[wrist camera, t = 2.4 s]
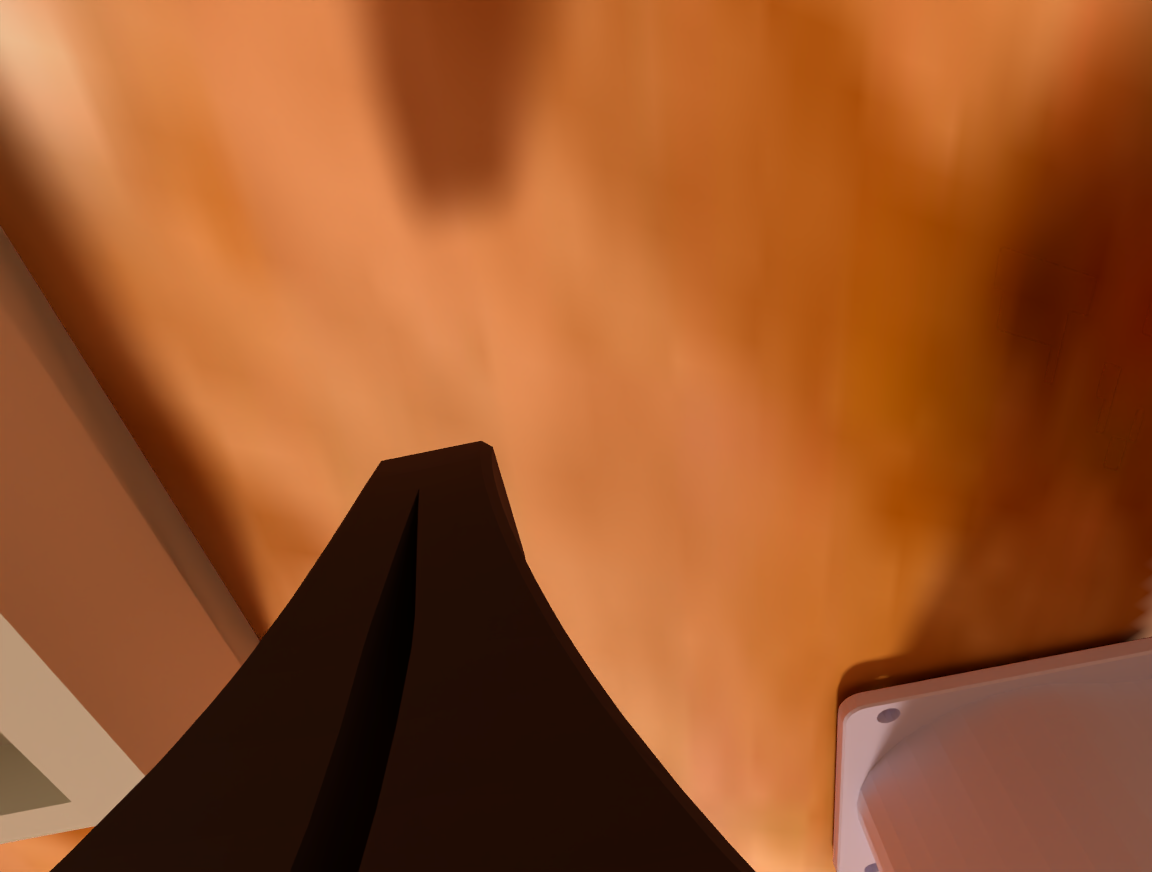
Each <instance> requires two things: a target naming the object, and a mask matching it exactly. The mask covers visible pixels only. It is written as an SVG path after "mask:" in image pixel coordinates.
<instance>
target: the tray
mask: <svg viewBox="0 0 1152 872" xmlns="http://www.w3.org/2000/svg"><path fill="white" fill-rule="evenodd" d="M259 642H260V640H259V639H258V637H257V636H256V634H255V632H254V631H253V629H252V628H251V626H250V624H249V623H248V621H247V620H246V618H245V616H244V615H243V613H242V612H241V610H240V608H239V607H238V605H237V604H236V602H235V600H234V599H233V597H232V596H231V594H230V592H229V591H228V589H227V588H226V586H225V584H224V583H223V581H222V580H221V578H220V576H219V575H218V573H217V572H216V570H215V568H214V567H213V565H212V564H211V562H210V560H209V559H208V557H207V556H206V554H205V552H204V551H203V549H202V548H201V546H200V544H199V543H198V541H197V540H196V538H195V536H194V535H193V533H192V532H191V530H190V528H189V527H188V525H187V524H186V522H185V520H184V519H183V517H182V516H181V514H180V512H179V511H178V509H177V508H176V506H175V504H174V503H173V501H172V500H171V498H170V496H169V495H168V493H167V492H166V490H165V488H164V487H163V485H162V483H161V482H160V480H159V479H158V477H157V475H156V474H155V472H154V471H153V469H152V467H151V466H150V464H149V463H148V461H147V459H146V458H145V456H144V455H143V453H142V451H141V450H140V448H139V447H138V445H137V443H136V442H135V440H134V439H133V437H132V435H131V434H130V432H129V431H128V429H127V427H126V426H125V424H124V423H123V421H122V419H121V418H120V416H119V415H118V413H117V411H116V410H115V408H114V407H113V405H112V403H111V402H110V400H109V399H108V397H107V395H106V394H105V392H104V391H103V389H102V387H101V386H100V384H99V383H98V381H97V379H96V378H95V376H94V375H93V373H92V371H91V370H90V368H89V367H88V365H87V363H86V362H85V360H84V359H83V357H82V355H81V354H80V352H79V351H78V349H77V347H76V346H75V344H74V343H73V341H72V339H71V338H70V336H69V335H68V333H67V331H66V330H65V328H64V327H63V325H62V323H61V322H60V320H59V319H58V317H57V315H56V314H55V312H54V311H53V309H52V307H51V306H50V304H49V302H48V301H47V299H46V298H45V296H44V294H43V293H42V291H41V290H40V288H39V286H38V285H37V283H36V282H35V280H34V278H33V277H32V275H31V274H30V272H29V270H28V269H27V267H26V266H25V264H24V262H23V261H22V259H21V258H20V256H19V254H18V253H17V251H16V250H15V248H14V246H13V245H12V243H11V242H10V240H9V238H8V237H7V235H6V234H5V232H4V230H3V229H2V227H1V226H0V844H3V843H9V842H14V841H19V840H24V839H30V838H35V837H40V836H45V835H51V834H56V833H61V832H66V831H71V830H77V829H82V828H87V827H92V826H96V825H97V824H98V823H99V822H100V821H101V820H102V819H103V818H104V817H105V816H106V815H107V814H108V813H109V812H110V811H111V810H112V809H113V808H114V807H115V806H116V805H117V804H118V803H119V802H120V801H121V800H122V799H123V798H124V797H125V796H126V795H127V794H128V793H129V792H130V791H131V790H132V789H133V788H134V787H135V786H136V785H137V784H138V783H139V782H140V781H141V780H142V779H143V778H144V777H145V776H146V775H147V774H148V773H149V772H150V771H151V770H152V769H153V768H154V767H155V766H156V764H157V763H158V762H159V761H160V760H161V759H162V758H163V757H164V756H165V755H166V754H167V753H168V751H169V750H170V749H171V748H172V747H173V746H174V745H175V744H176V743H177V741H178V740H179V739H180V738H181V737H182V736H183V735H184V733H185V732H186V731H187V730H188V729H189V728H190V727H191V725H192V724H193V723H194V722H195V721H196V720H197V719H198V718H199V716H200V715H201V714H202V713H203V712H204V711H205V710H206V708H207V707H208V706H209V705H210V704H211V703H212V701H213V700H214V699H215V698H216V697H217V695H218V694H219V693H220V692H221V691H222V689H223V688H224V687H225V686H226V685H227V683H228V682H229V681H230V680H231V679H232V677H233V676H234V675H235V674H236V672H237V671H238V670H239V669H240V667H241V666H242V665H243V664H244V662H245V661H246V660H247V658H248V657H249V656H250V654H251V653H252V652H253V650H254V649H255V648H256V646H257V645H258V644H259Z"/></svg>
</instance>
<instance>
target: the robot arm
mask: <svg viewBox="0 0 1152 872" xmlns="http://www.w3.org/2000/svg"><path fill="white" fill-rule="evenodd" d="M833 863H834V866H835V869H836V872H1152V637H1148V638H1143V639H1138V640H1133V641H1127V642H1122V643H1117V644H1112V645H1106V646H1101V647H1096V648H1091V649H1085V650H1080V651H1075V652H1070V653H1064V654H1059V655H1054V656H1049V657H1044V658H1038V659H1033V660H1028V661H1023V662H1017V663H1012V664H1007V665H1002V666H996V667H991V668H986V669H981V670H975V671H970V672H965V673H960V674H954V675H949V676H944V677H939V678H933V679H928V680H923V681H918V682H912V683H907V684H902V685H897V686H891V687H886V688H881V689H876V690H870V691H865V692H860V693H857V694H853V695H851V696H850V697H848V698H846V699H845V700H844V701H843V702H842V703H841V705H840V707H839V710H838V729H837V758H836V787H835V815H834V844H833ZM50 872H755V871H754V870H753V869H752V867H751V866H750V865H749V864H748V863H747V862H746V861H745V860H744V859H743V858H742V857H741V856H740V855H739V853H738V852H737V851H736V850H735V849H734V848H733V847H732V846H731V845H730V844H729V843H728V842H727V840H726V839H725V838H724V837H723V836H722V835H721V834H720V832H719V831H718V830H717V829H716V828H715V827H714V826H713V824H712V823H711V822H710V821H709V820H708V819H707V818H706V816H705V815H704V814H703V813H702V812H701V811H700V810H699V808H698V807H697V806H696V805H695V804H694V803H693V802H692V800H691V799H690V798H689V797H688V796H687V795H686V794H685V792H684V791H683V790H682V789H681V788H680V786H679V785H678V784H677V783H676V781H675V780H674V779H673V778H672V776H671V775H670V774H669V773H668V771H667V770H666V769H665V768H664V766H663V765H662V764H661V763H660V761H659V760H658V759H657V758H656V756H655V755H654V754H653V753H652V751H651V750H650V749H649V748H648V746H647V745H646V744H645V743H644V741H643V740H642V739H641V738H640V736H639V735H638V734H637V733H636V731H635V730H634V729H633V728H632V726H631V725H630V724H629V723H628V721H627V720H626V719H625V718H624V716H623V715H622V714H621V712H620V711H619V709H618V708H617V707H616V705H615V704H614V702H613V701H612V700H611V698H610V697H609V695H608V694H607V693H606V691H605V690H604V688H603V687H602V686H601V684H600V683H599V681H598V680H597V679H596V677H595V676H594V674H593V673H592V672H591V670H590V669H589V667H588V666H587V664H586V663H585V661H584V659H583V658H582V656H581V655H580V653H579V652H578V650H577V649H576V647H575V646H574V644H573V643H572V641H571V640H570V638H569V637H568V635H567V633H566V632H565V630H564V629H563V627H562V625H561V624H560V622H559V620H558V619H557V617H556V615H555V614H554V612H553V610H552V608H551V607H550V605H549V603H548V601H547V600H546V598H545V596H544V594H543V592H542V591H541V589H540V587H539V585H538V583H537V582H536V580H535V578H534V576H533V574H532V572H531V570H530V568H529V566H528V564H527V562H526V560H525V555H524V551H523V548H522V544H521V541H520V538H519V534H518V531H517V527H516V524H515V521H514V517H513V514H512V511H511V507H510V504H509V500H508V497H507V494H506V490H505V487H504V484H503V480H502V477H501V473H500V470H499V467H498V463H497V460H496V457H495V453H494V450H493V447H492V446H490V445H488V444H486V443H484V442H483V441H478V442H473V443H468V444H463V445H458V446H453V447H448V448H443V449H438V450H433V451H428V452H424V453H419V454H414V455H409V456H404V457H399V458H394V459H389V460H384V461H381V463H380V464H379V466H378V467H377V468H376V470H375V471H374V473H373V474H372V476H371V477H370V479H369V480H368V482H367V484H366V485H365V487H364V488H363V490H362V491H361V493H360V495H359V496H358V498H357V499H356V501H355V502H354V504H353V506H352V507H351V509H350V510H349V512H348V514H347V515H346V517H345V518H344V520H343V522H342V523H341V525H340V526H339V528H338V529H337V531H336V533H335V534H334V536H333V537H332V539H331V540H330V542H329V544H328V545H327V547H326V548H325V550H324V551H323V553H322V554H321V556H320V557H319V559H318V560H317V562H316V563H315V565H314V566H313V568H312V569H311V570H310V572H309V573H308V575H307V576H306V578H305V579H304V581H303V582H302V584H301V585H300V587H299V588H298V590H297V591H296V593H295V594H294V596H293V597H292V599H291V600H290V601H289V603H288V604H287V606H286V607H285V608H284V610H283V611H282V612H281V614H280V615H279V617H278V618H277V619H276V621H275V622H274V623H273V625H272V626H271V627H270V629H269V630H268V631H267V633H266V634H265V635H264V637H263V638H262V640H261V641H260V642H259V644H258V645H257V646H256V648H255V649H254V650H253V652H252V653H251V654H250V656H249V657H248V658H247V660H246V661H245V662H244V664H243V665H242V666H241V667H240V669H239V670H238V671H237V672H236V674H235V675H234V676H233V677H232V679H231V680H230V681H229V682H228V683H227V685H226V686H225V687H224V688H223V689H222V691H221V692H220V693H219V694H218V695H217V697H216V698H215V699H214V700H213V701H212V703H211V704H210V705H209V706H208V707H207V708H206V710H205V711H204V712H203V713H202V714H201V715H200V716H199V718H198V719H197V720H196V721H195V722H194V723H193V724H192V725H191V727H190V728H189V729H188V730H187V731H186V732H185V733H184V735H183V736H182V737H181V738H180V739H179V740H178V741H177V743H176V744H175V745H174V746H173V747H172V748H171V749H170V750H169V751H168V753H167V754H166V755H165V756H164V757H163V758H162V759H161V760H160V761H159V762H158V763H157V764H156V766H155V767H154V768H153V769H152V770H151V771H150V772H149V773H148V774H147V775H146V776H145V777H144V778H143V779H142V780H141V781H140V782H139V783H138V784H137V785H136V786H135V787H134V788H133V789H132V790H131V791H130V792H129V793H128V794H127V795H126V796H125V797H124V798H123V799H122V800H121V801H120V802H119V803H118V804H117V805H116V806H115V807H114V808H113V809H112V810H111V811H110V812H109V813H108V814H107V815H106V816H105V817H104V818H103V819H102V820H101V821H100V822H99V823H98V824H97V825H96V826H95V827H94V828H93V829H92V830H91V831H90V832H89V834H88V835H87V836H86V837H85V838H84V839H83V840H82V841H81V842H80V843H79V844H78V845H77V846H76V847H75V848H74V849H73V850H72V851H71V852H70V853H69V854H68V855H67V856H66V857H65V858H63V859H62V860H61V861H60V862H59V863H58V864H57V865H56V866H55V867H54V868H53V869H52V870H51V871H50Z"/></svg>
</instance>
